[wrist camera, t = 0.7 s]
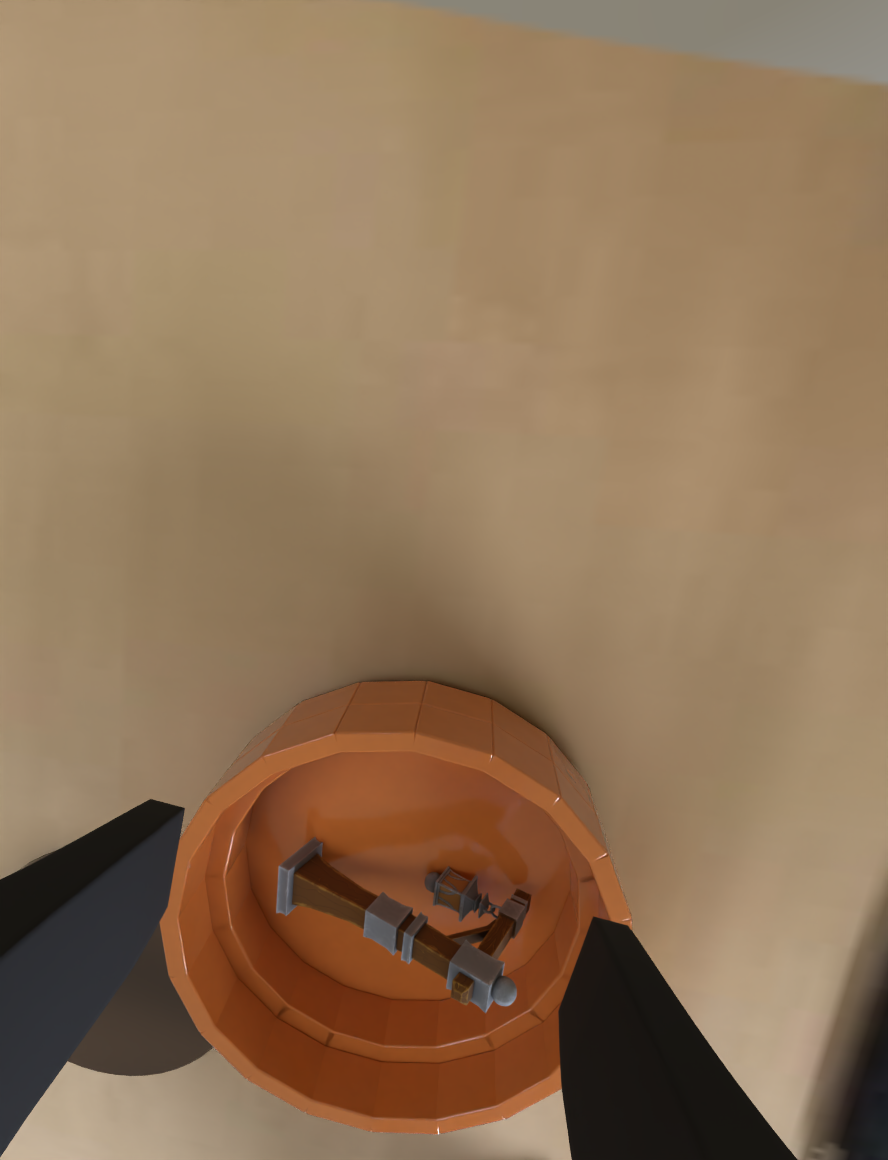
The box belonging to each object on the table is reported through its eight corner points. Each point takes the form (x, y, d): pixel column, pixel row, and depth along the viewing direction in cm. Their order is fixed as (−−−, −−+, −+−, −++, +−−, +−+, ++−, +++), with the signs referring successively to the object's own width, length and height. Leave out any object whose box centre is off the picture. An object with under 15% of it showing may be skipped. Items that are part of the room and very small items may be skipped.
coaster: (257, 1069, 24) (254, 1079, 23) (17, 1063, 25) (9, 1073, 24) (226, 845, 22) (221, 852, 21) (-37, 845, 22) (-46, 852, 22)
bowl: (602, 1019, 22) (627, 1141, 18) (242, 1013, 23) (193, 1127, 19) (606, 671, 19) (637, 728, 15) (194, 679, 20) (126, 735, 16)
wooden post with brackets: (552, 935, 20) (499, 1049, 16) (354, 842, 24) (271, 917, 20) (560, 889, 20) (508, 994, 16) (357, 801, 23) (273, 869, 19)
